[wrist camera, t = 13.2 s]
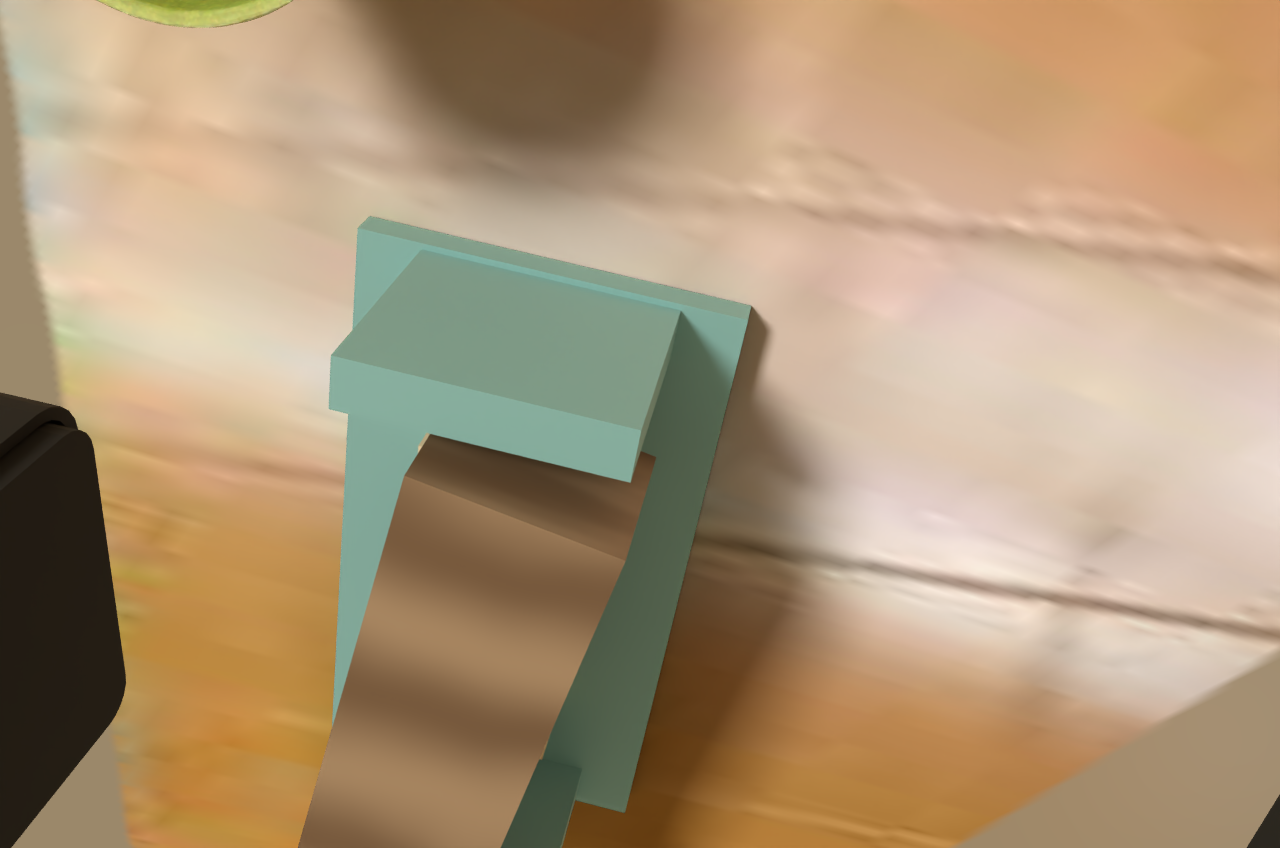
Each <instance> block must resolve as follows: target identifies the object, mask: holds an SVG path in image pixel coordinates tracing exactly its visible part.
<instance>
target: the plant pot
mask: <svg viewBox="0 0 1280 848" xmlns="http://www.w3.org/2000/svg"><path fill="white" fill-rule="evenodd" d="M97 1H99V2H101V3H103V4H105V5H107V6H109V7H111V8H114V9H116V10H119V11H121V12H124V13H126V14H128V15H130V16H133V17H136V18H139V19H143V20H146V21H150V22H155V23H158V24H163V25H170V26H177V27H190V28H210V27H222V26H228V25H233V24H238V23H243V22H247V21H251V20H254V19H257V18H260V17H262V16H265V15H267V14H269V13H272V12H274V11H276V10H278V9H279V8H281V7H283V6H285V5H287V4H288V3H290V2H291V1H293V0H97Z"/></svg>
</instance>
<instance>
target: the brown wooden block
mask: <svg viewBox="0 0 1280 848" xmlns="http://www.w3.org/2000/svg"><path fill="white" fill-rule="evenodd" d="M655 461H656V457H655V456H652V455H650V454H647V453H645V452H642V451H641V452H640V455H639V458H638V461H637V464H636V467H635V470H634V473H633V476H632V480H631V483H629V482H625V481H621V480H617V479H613V478H609V477H605V476H601V475H597V474H593V473H589V472H584V471H580V470H576V469H572V468H568V467H564V466H560V465H556V464H552V463H548V462H543V461H539V460H535V459H531V458H527V457H523V456H519V455H515V454H511V453H507V452H503V451H498V450H494V449H490V448H486V447H482V446H478V445H474V444H470V443H466V442H462V441H458V440H453V439H449V438H445V437H441V436H437V435H433V434H430V435H429V436H428V438H427V440H426V441H425V443H424V444H423V446H422V448H421V449H420V451H419V452H418V454H417V456H416V457H415V459H414V461H413V462H412V464H411V465H410V467H409V469H408V470H407V472H406V473H405V475H404V478H403V481H402V485H401V488H400V492H399V495H398V499H397V502H396V506H395V509H394V513H393V516H392V520H391V523H390V527H389V530H388V534H387V537H386V541H385V544H384V548H383V551H382V555H381V558H380V562H379V565H378V569H377V572H376V576H375V579H374V583H373V586H372V590H371V593H370V597H369V600H368V604H367V607H366V611H365V614H364V618H363V621H362V625H361V628H360V632H359V635H358V639H357V642H356V646H355V649H354V653H353V656H352V660H351V663H350V667H349V670H348V674H347V677H346V681H345V684H344V688H343V691H342V695H341V698H340V702H339V705H338V709H337V712H336V716H335V719H334V723H333V726H332V730H331V733H330V737H329V741H328V744H327V748H326V751H325V755H324V758H323V762H322V765H321V769H320V772H319V776H318V779H317V783H316V786H315V790H314V793H313V797H312V800H311V804H310V807H309V811H308V814H307V818H306V821H305V825H304V828H303V832H302V835H301V839H300V842H299V846H298V848H501V846H502V843H503V841H504V839H505V837H506V834H507V832H508V830H509V827H510V825H511V823H512V821H513V818H514V816H515V814H516V811H517V809H518V807H519V804H520V802H521V800H522V798H523V795H524V793H525V791H526V788H527V786H528V784H529V782H530V779H531V777H532V775H533V772H534V770H535V768H536V765H537V763H538V761H539V759H540V756H541V754H542V752H543V749H544V747H545V745H546V743H547V740H548V738H549V736H550V733H551V731H552V729H553V726H554V724H555V722H556V720H557V717H558V715H559V713H560V710H561V708H562V706H563V704H564V701H565V699H566V697H567V694H568V692H569V690H570V687H571V685H572V683H573V681H574V678H575V676H576V674H577V671H578V669H579V667H580V665H581V662H582V660H583V658H584V655H585V653H586V651H587V648H588V646H589V644H590V642H591V639H592V637H593V635H594V632H595V630H596V628H597V626H598V623H599V621H600V619H601V616H602V614H603V612H604V609H605V607H606V605H607V603H608V600H609V598H610V596H611V593H612V591H613V589H614V587H615V584H616V582H617V580H618V577H619V575H620V573H621V570H622V568H623V566H624V564H625V561H626V558H627V555H628V551H629V548H630V545H631V541H632V538H633V535H634V531H635V528H636V524H637V521H638V518H639V514H640V511H641V508H642V504H643V501H644V498H645V494H646V491H647V487H648V484H649V481H650V477H651V474H652V471H653V467H654V464H655Z"/></svg>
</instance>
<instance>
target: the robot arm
mask: <svg viewBox="0 0 1280 848" xmlns="http://www.w3.org/2000/svg"><path fill="white" fill-rule="evenodd" d="M125 685H126V674H125V667H124V660H123V653H122V646H121V639H120V632H119V625H118V618H117V610H116V603H115V596H114V589H113V582H112V575H111V568H110V561H109V554H108V546H107V539H106V532H105V525H104V518H103V511H102V504H101V497H100V490H99V483H98V475H97V468H96V461H95V454H94V448H93V444H92V441H91V439H90V437H89V436H88V435H87V433H85V432H83V431H81V430H78V428H77V424H76V421H75V418H74V417H73V416H72V414H71V413H70V412H69V410H66V409H64V408H62V407H60V406H56V405H52V404H47V403H43V402H39V401H34V400H30V399H26V398H22V397H17V396H13V395H9V394H4V393H0V848H11V847H12V846H13V845H14V844H15V842H16V841H17V840H18V838H19V837H20V836H21V835H22V833H23V832H24V831H25V830H26V829H27V827H28V826H29V825H30V823H31V822H32V821H33V820H34V818H35V817H36V816H37V815H38V813H39V812H40V811H41V809H42V808H43V807H44V806H45V805H46V803H47V802H48V801H49V800H50V798H51V797H52V796H53V795H54V793H55V792H56V791H57V790H58V788H59V787H60V786H61V785H62V783H63V782H64V781H65V780H66V778H67V777H68V776H69V775H70V773H71V772H72V771H73V770H74V768H75V767H76V766H77V765H78V763H79V762H80V761H81V759H82V758H83V757H84V756H85V755H86V753H87V752H88V751H89V750H90V748H91V747H92V746H93V745H94V743H95V742H96V741H97V740H98V738H99V737H100V736H101V735H102V733H103V732H104V731H105V730H106V728H107V727H108V726H109V725H110V723H111V722H112V720H113V719H114V717H115V716H116V713H117V711H118V709H119V707H120V705H121V702H122V699H123V696H124V691H125ZM1247 848H1280V795H1279V797H1278V798H1277V800H1276V801H1275V803H1274V805H1273V806H1272V808H1271V809H1270V811H1269V813H1268V814H1267V816H1266V818H1265V819H1264V821H1263V823H1262V824H1261V826H1260V827H1259V829H1258V831H1257V832H1256V834H1255V835H1254V837H1253V839H1252V840H1251V842H1250V843H1249V845H1248V847H1247Z"/></svg>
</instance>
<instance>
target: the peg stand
mask: <svg viewBox="0 0 1280 848" xmlns="http://www.w3.org/2000/svg"><path fill="white" fill-rule="evenodd" d="M750 309H751V306H750V305H746V304H742V303H737V302H733V301H729V300H724V299H720V298H716V297H712V296H707V295H703V294H699V293H695V292H690V291H686V290H682V289H678V288H673V287H669V286H665V285H661V284H656V283H652V282H648V281H644V280H639V279H635V278H631V277H627V276H622V275H618V274H614V273H610V272H605V271H601V270H597V269H592V268H588V267H584V266H580V265H575V264H571V263H567V262H563V261H558V260H554V259H550V258H546V257H541V256H537V255H533V254H529V253H524V252H520V251H516V250H512V249H507V248H503V247H499V246H495V245H490V244H486V243H482V242H478V241H473V240H469V239H465V238H460V237H456V236H452V235H448V234H443V233H439V232H435V231H431V230H426V229H422V228H418V227H414V226H409V225H405V224H401V223H397V222H392V221H388V220H384V219H380V218H375V217H371V216H369V217H368V218H367V219H366V220H365V221H364V222H363V223H362V224H361V225H360V226H359V227H358V234H357V253H356V273H355V292H354V312H353V330H352V331H351V333H350V334H349V335H348V336H347V337H346V338H345V340H344V341H343V342H342V343H341V344H340V345H339V347H338V348H337V349H336V350H335V351H334V352H333V354H332V355H331V367H330V392H329V409H331V410H335V411H339V412H343V413H347V414H348V428H347V448H346V467H345V487H344V506H343V526H342V545H341V565H340V584H339V603H338V623H337V642H336V662H335V681H334V701H333V720H332V726H333V723H334V719H335V716H336V712H337V709H338V705H339V702H340V698H341V695H342V691H343V688H344V684H345V681H346V677H347V674H348V670H349V667H350V663H351V660H352V656H353V653H354V649H355V646H356V642H357V639H358V635H359V632H360V628H361V625H362V621H363V618H364V614H365V611H366V607H367V604H368V600H369V597H370V593H371V590H372V586H373V583H374V579H375V576H376V572H377V569H378V565H379V562H380V558H381V555H382V551H383V548H384V544H385V541H386V537H387V534H388V530H389V527H390V523H391V520H392V516H393V513H394V509H395V506H396V502H397V499H398V495H399V492H400V488H401V485H402V481H403V478H404V475H405V473H406V472H407V470H408V469H409V467H410V465H411V464H412V462H413V461H414V459H415V457H416V456H417V454H418V452H419V451H420V449H421V448H422V446H423V444H424V443H425V441H426V440H427V438H428V436H429V435H430V434H433V435H437V436H441V437H445V438H449V439H453V440H458V441H462V442H466V443H470V444H474V445H478V446H482V447H486V448H490V449H494V450H498V451H503V452H507V453H511V454H515V455H519V456H523V457H527V458H531V459H535V460H539V461H543V462H548V463H552V464H556V465H560V466H564V467H568V468H572V469H576V470H580V471H584V472H589V473H593V474H597V475H601V476H605V477H609V478H613V479H617V480H621V481H625V482H629V483H631V480H632V476H633V473H634V470H635V467H636V464H637V461H638V458H639V455H640V452H641V451H642V452H645V453H647V454H650V455H652V456H655V457H656V461H655V464H654V467H653V471H652V474H651V477H650V481H649V484H648V487H647V491H646V494H645V498H644V501H643V504H642V508H641V511H640V514H639V518H638V521H637V524H636V528H635V531H634V535H633V538H632V541H631V545H630V548H629V551H628V555H627V558H626V561H625V564H624V566H623V568H622V570H621V573H620V575H619V577H618V580H617V582H616V584H615V587H614V589H613V591H612V593H611V596H610V598H609V600H608V603H607V605H606V607H605V609H604V612H603V614H602V616H601V619H600V621H599V623H598V626H597V628H596V630H595V632H594V635H593V637H592V639H591V642H590V644H589V646H588V648H587V651H586V653H585V655H584V658H583V660H582V662H581V665H580V667H579V669H578V671H577V674H576V676H575V678H574V681H573V683H572V685H571V687H570V690H569V692H568V694H567V697H566V699H565V701H564V704H563V706H562V708H561V710H560V713H559V715H558V717H557V720H556V722H555V724H554V726H553V729H552V731H551V733H550V736H549V738H548V740H547V743H546V745H545V747H544V749H543V752H542V754H541V756H540V759H539V761H538V763H537V765H536V768H535V770H534V772H533V775H532V777H531V779H530V782H529V784H528V786H527V788H526V791H525V793H524V795H523V798H522V800H521V802H520V804H519V807H518V809H517V811H516V814H515V816H514V818H513V821H512V823H511V825H510V827H509V830H508V832H507V834H506V837H505V839H504V841H503V843H502V846H501V848H562V846H563V842H564V839H565V835H566V832H567V828H568V825H569V821H570V817H571V814H572V810H573V807H574V803H575V800H576V801H580V802H584V803H588V804H592V805H596V806H599V807H603V808H607V809H611V810H615V811H619V812H623V813H625V811H626V807H627V803H628V799H629V795H630V791H631V787H632V783H633V779H634V775H635V771H636V767H637V763H638V759H639V755H640V751H641V747H642V743H643V739H644V735H645V731H646V727H647V723H648V719H649V715H650V711H651V707H652V703H653V699H654V695H655V691H656V687H657V683H658V679H659V675H660V671H661V667H662V663H663V659H664V655H665V651H666V647H667V643H668V639H669V635H670V631H671V627H672V623H673V619H674V615H675V611H676V607H677V603H678V599H679V595H680V591H681V587H682V583H683V579H684V575H685V571H686V567H687V563H688V559H689V555H690V551H691V547H692V543H693V539H694V535H695V531H696V527H697V523H698V519H699V515H700V511H701V507H702V503H703V499H704V495H705V491H706V487H707V483H708V479H709V475H710V471H711V467H712V463H713V459H714V455H715V451H716V447H717V443H718V439H719V435H720V431H721V427H722V423H723V419H724V415H725V411H726V407H727V403H728V399H729V395H730V391H731V387H732V383H733V379H734V375H735V371H736V367H737V363H738V359H739V355H740V351H741V347H742V343H743V339H744V335H745V331H746V327H747V323H748V319H749V314H750Z"/></svg>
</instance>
